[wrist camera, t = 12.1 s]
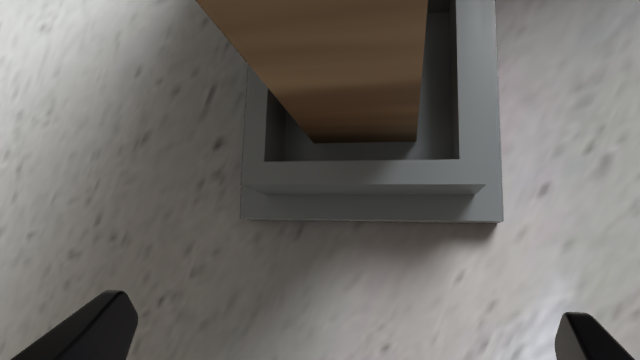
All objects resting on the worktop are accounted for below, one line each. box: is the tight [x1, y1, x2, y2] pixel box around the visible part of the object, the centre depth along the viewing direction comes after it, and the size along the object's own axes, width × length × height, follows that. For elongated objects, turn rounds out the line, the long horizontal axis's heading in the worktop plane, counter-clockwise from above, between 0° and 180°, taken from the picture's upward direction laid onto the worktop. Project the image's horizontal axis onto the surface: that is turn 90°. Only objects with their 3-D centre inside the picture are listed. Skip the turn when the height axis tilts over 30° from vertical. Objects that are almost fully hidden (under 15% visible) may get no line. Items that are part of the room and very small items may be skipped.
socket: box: [240, 0, 504, 223], centre depth 17 cm, size 10×10×4 cm
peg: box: [196, 0, 428, 143], centre depth 12 cm, size 4×4×12 cm
